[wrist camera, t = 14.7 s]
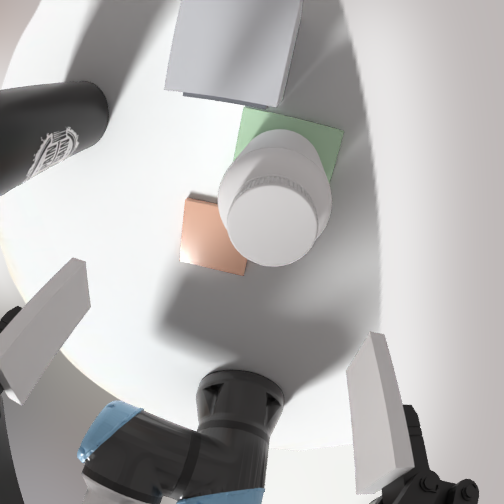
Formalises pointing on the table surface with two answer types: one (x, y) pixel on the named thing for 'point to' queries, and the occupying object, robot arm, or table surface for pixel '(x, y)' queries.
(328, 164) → the green pad
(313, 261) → the table surface
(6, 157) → the water bottle
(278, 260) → the pill bottle
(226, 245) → the terracotta pad
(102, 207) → the table surface
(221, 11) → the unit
